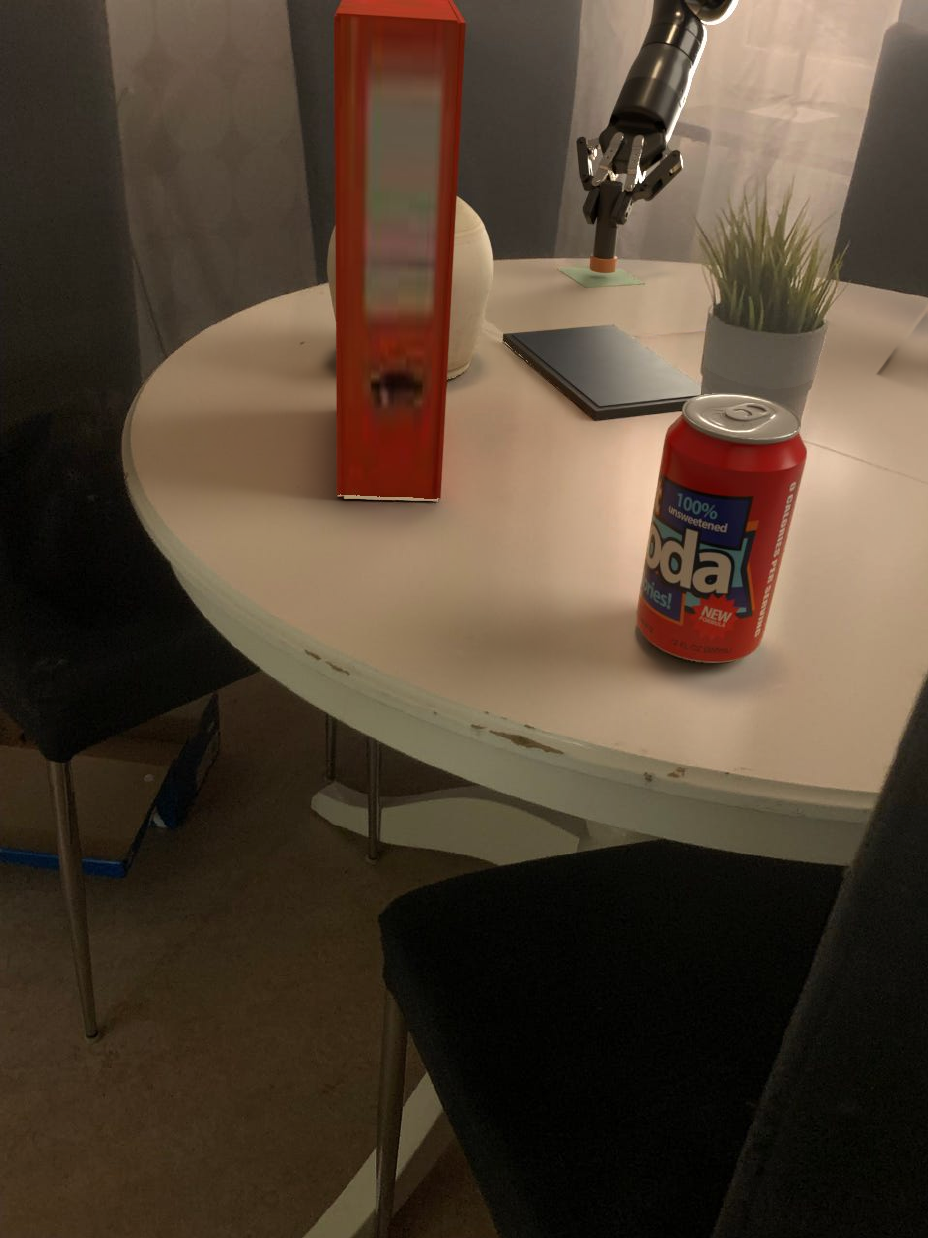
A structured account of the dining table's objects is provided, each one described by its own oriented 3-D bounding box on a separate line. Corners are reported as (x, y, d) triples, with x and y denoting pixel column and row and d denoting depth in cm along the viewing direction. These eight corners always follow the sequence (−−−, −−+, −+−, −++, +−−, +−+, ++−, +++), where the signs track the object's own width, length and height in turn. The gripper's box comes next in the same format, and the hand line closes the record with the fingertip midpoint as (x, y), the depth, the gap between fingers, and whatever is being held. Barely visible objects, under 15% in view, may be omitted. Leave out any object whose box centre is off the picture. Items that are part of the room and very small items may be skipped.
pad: (613, 269, 136) (614, 264, 136) (644, 288, 130) (645, 283, 130) (556, 273, 134) (557, 268, 133) (585, 292, 128) (586, 287, 127)
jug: (435, 406, 97) (446, 100, 83) (296, 368, 103) (285, 77, 89) (514, 358, 108) (535, 81, 94) (385, 326, 114) (387, 62, 100)
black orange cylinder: (607, 264, 133) (617, 179, 127) (620, 272, 131) (630, 184, 125) (584, 266, 132) (593, 179, 126) (596, 273, 130) (606, 185, 124)
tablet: (613, 332, 116) (614, 323, 116) (719, 405, 100) (721, 395, 100) (502, 341, 112) (502, 332, 111) (594, 420, 96) (596, 410, 95)
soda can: (786, 649, 67) (844, 424, 59) (697, 689, 63) (746, 454, 55) (695, 591, 72) (737, 377, 64) (608, 625, 68) (640, 402, 60)
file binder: (436, 411, 96) (452, -3, 78) (444, 502, 81) (466, 19, 64) (345, 409, 95) (340, -9, 77) (337, 500, 81) (328, 12, 63)
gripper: (592, 67, 128) (539, 193, 126) (705, 80, 123) (652, 212, 120) (604, 111, 135) (554, 231, 133) (711, 125, 130) (662, 250, 127)
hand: (601, 221), depth 126 cm, fingers closed on black orange cylinder, 2 cm apart
